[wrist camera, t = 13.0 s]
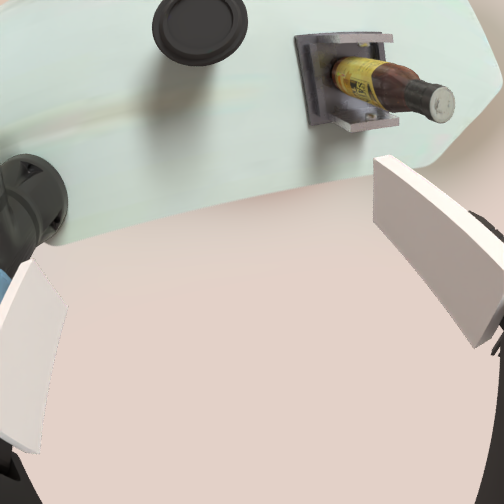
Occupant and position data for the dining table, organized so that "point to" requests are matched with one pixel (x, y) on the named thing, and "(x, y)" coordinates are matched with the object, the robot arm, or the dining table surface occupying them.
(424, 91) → the sauce bottle
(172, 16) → the coffee cup
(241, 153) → the dining table surface
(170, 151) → the dining table surface
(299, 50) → the clip holder
